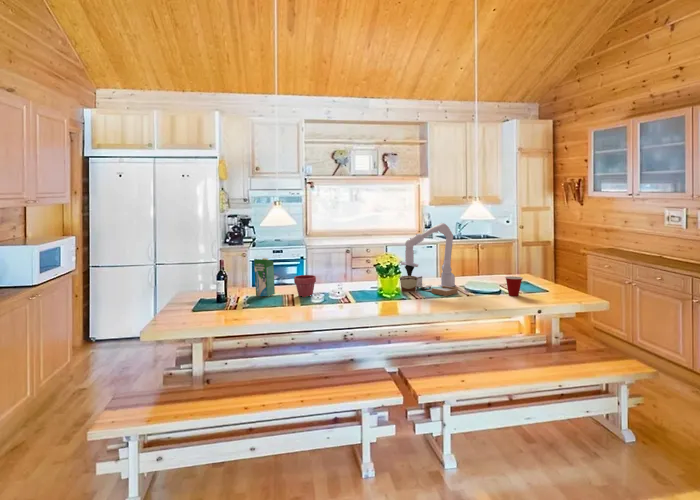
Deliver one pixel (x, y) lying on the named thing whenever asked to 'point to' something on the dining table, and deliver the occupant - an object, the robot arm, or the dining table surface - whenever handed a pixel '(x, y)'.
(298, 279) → the plant pot
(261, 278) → the milk carton
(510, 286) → the plastic cup
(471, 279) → the dining table surface
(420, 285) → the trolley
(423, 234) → the robot arm
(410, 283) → the food container
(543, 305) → the dining table surface
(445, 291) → the dock
